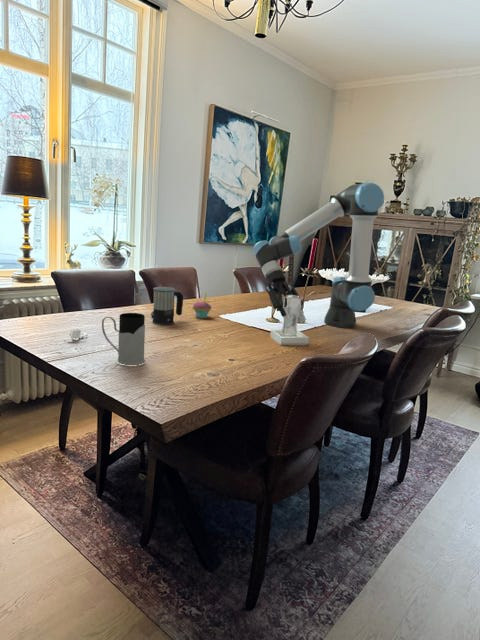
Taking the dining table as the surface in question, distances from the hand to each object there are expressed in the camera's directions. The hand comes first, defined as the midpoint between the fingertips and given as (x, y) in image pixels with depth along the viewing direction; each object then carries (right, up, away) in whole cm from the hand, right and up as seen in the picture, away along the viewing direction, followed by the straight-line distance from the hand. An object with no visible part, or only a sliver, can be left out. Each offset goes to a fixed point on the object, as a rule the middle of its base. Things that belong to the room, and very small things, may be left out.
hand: (296, 322), depth 169 cm
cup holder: (-3, -8, +5) cm, 9 cm away
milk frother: (-57, +1, +21) cm, 61 cm away
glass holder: (-59, -12, -33) cm, 69 cm away
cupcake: (-40, +2, +33) cm, 52 cm away
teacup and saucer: (-77, -7, -15) cm, 79 cm away
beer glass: (-3, -5, +4) cm, 7 cm away
